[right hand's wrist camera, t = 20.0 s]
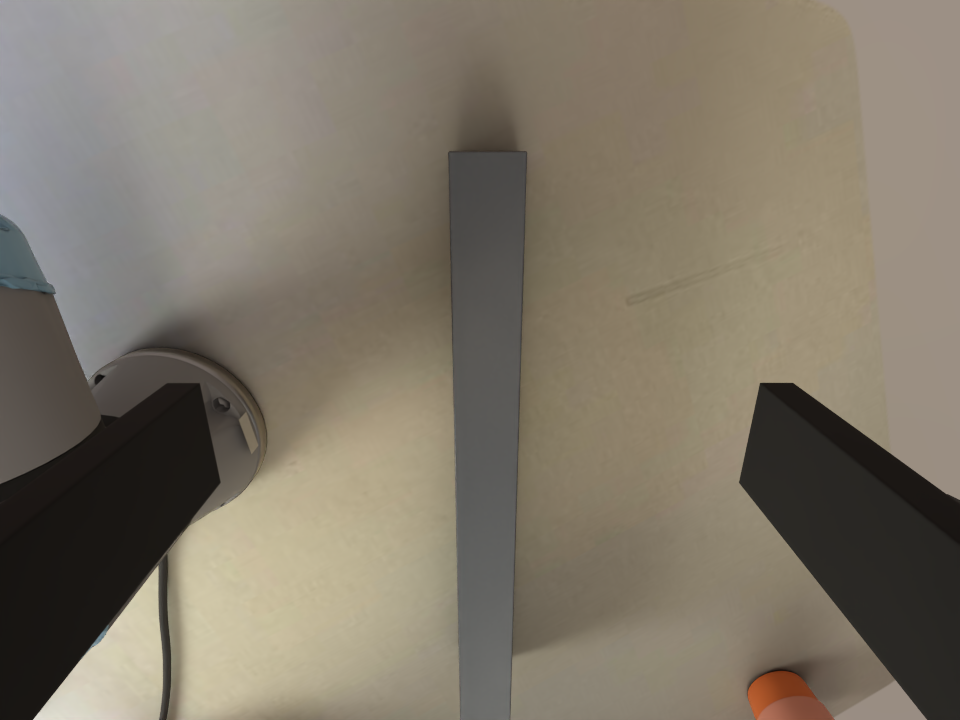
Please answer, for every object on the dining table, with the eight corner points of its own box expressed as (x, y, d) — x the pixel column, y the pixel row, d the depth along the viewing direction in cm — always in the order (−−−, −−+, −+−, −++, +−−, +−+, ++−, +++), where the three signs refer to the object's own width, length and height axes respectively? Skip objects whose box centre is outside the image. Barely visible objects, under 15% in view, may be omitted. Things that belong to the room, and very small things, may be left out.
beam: (455, 151, 38) (448, 151, 31) (518, 152, 38) (527, 151, 30) (463, 658, 56) (460, 734, 49) (506, 659, 56) (509, 735, 49)
